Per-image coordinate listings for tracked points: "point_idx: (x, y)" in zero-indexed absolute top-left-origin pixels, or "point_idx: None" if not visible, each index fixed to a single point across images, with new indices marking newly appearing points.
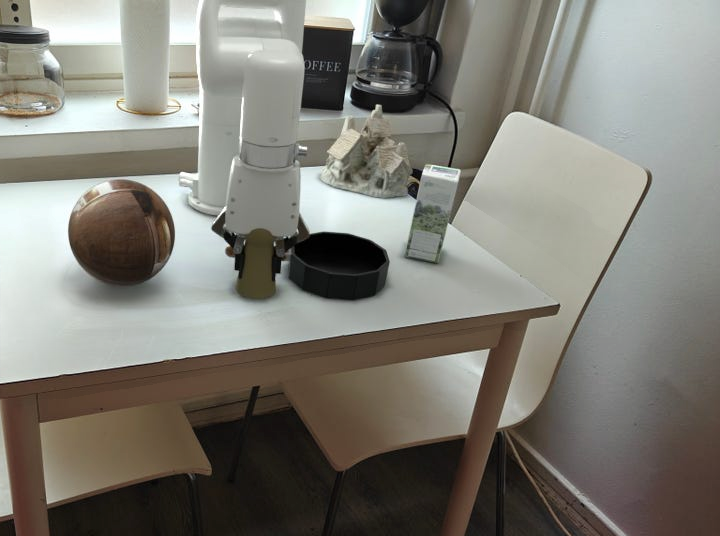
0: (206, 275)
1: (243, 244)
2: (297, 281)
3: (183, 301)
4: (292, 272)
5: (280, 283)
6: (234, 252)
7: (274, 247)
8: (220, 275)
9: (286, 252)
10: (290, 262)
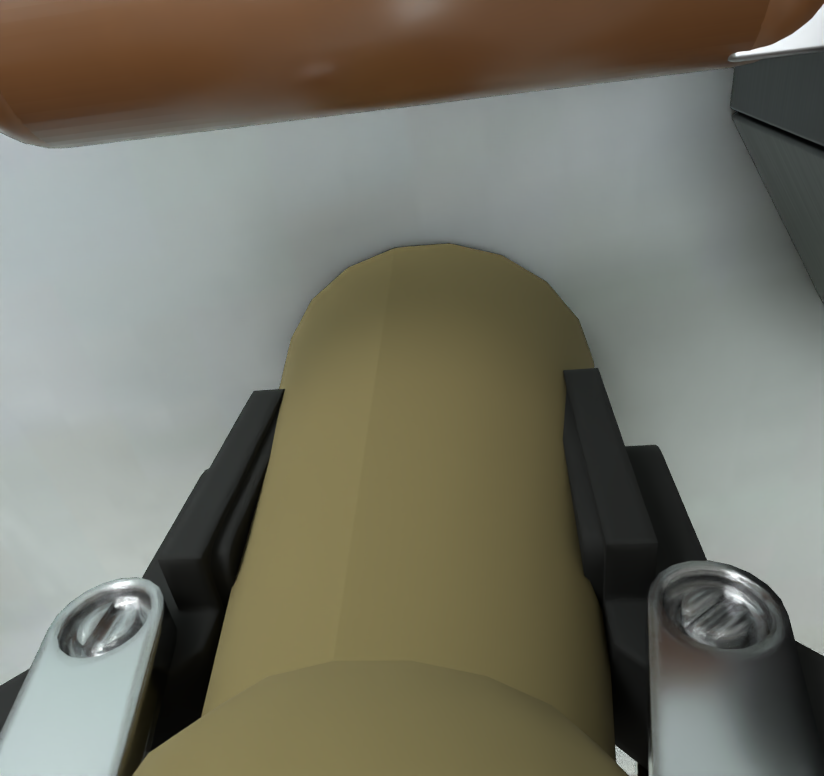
0: (18, 240)
1: (199, 682)
2: (807, 247)
3: (59, 570)
4: (787, 177)
5: (638, 226)
6: (95, 141)
7: (616, 678)
8: (117, 211)
9: (795, 22)
10: (803, 133)
